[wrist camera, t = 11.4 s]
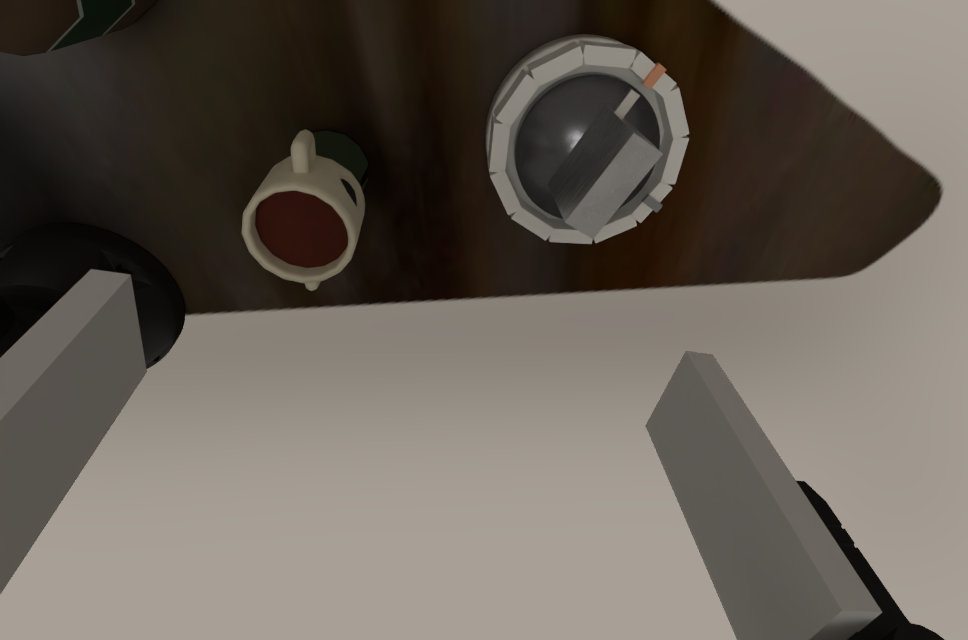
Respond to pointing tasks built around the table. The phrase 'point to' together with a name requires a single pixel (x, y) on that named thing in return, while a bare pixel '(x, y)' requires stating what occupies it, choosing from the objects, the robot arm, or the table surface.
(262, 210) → the character mug
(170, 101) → the table surface
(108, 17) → the beer bottle
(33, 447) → the robot arm
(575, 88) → the dial
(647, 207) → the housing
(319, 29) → the table surface
